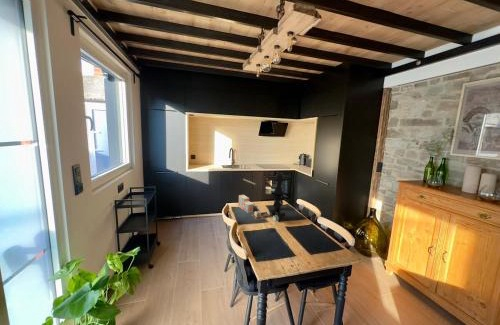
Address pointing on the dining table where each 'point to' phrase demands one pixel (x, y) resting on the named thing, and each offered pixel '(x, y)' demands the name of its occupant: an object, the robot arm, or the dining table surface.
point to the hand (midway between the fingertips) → (276, 219)
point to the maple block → (257, 213)
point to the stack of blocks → (245, 203)
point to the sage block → (275, 218)
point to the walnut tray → (263, 216)
